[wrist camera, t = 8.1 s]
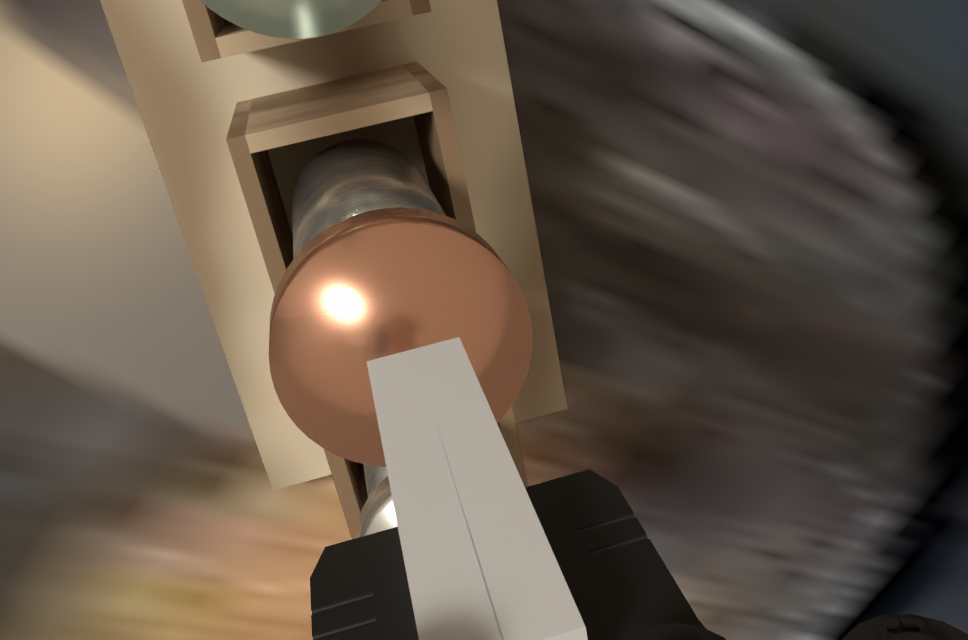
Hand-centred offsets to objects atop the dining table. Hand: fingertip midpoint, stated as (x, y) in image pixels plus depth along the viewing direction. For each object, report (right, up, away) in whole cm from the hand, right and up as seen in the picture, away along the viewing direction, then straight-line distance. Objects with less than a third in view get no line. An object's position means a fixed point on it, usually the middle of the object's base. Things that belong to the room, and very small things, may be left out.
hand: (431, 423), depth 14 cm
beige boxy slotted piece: (-4, +7, +17) cm, 19 cm away
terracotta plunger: (-3, +5, +12) cm, 13 cm away
